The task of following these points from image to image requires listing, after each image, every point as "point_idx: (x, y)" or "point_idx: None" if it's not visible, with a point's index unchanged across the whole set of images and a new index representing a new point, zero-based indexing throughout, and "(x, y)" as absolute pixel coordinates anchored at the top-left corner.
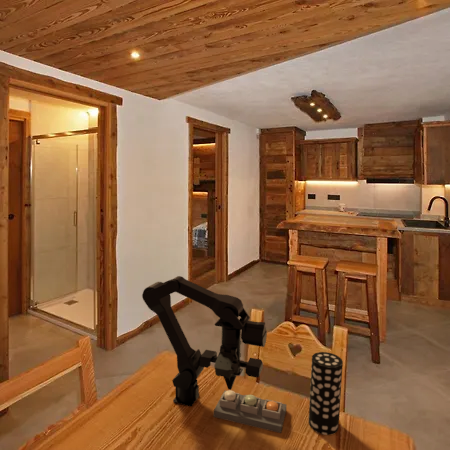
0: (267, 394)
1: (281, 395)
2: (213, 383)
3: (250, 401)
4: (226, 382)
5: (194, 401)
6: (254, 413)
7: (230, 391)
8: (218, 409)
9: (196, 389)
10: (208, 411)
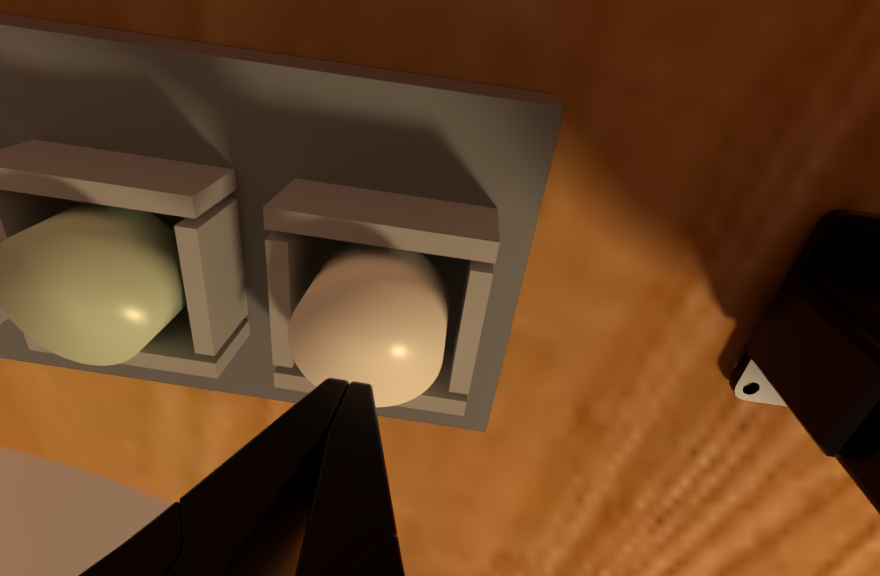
0: (156, 447)
1: (59, 448)
2: (598, 512)
3: (38, 239)
4: (369, 485)
5: (797, 278)
6: (58, 147)
7: (372, 388)
8: (500, 143)
9: (859, 383)
10: (619, 173)
